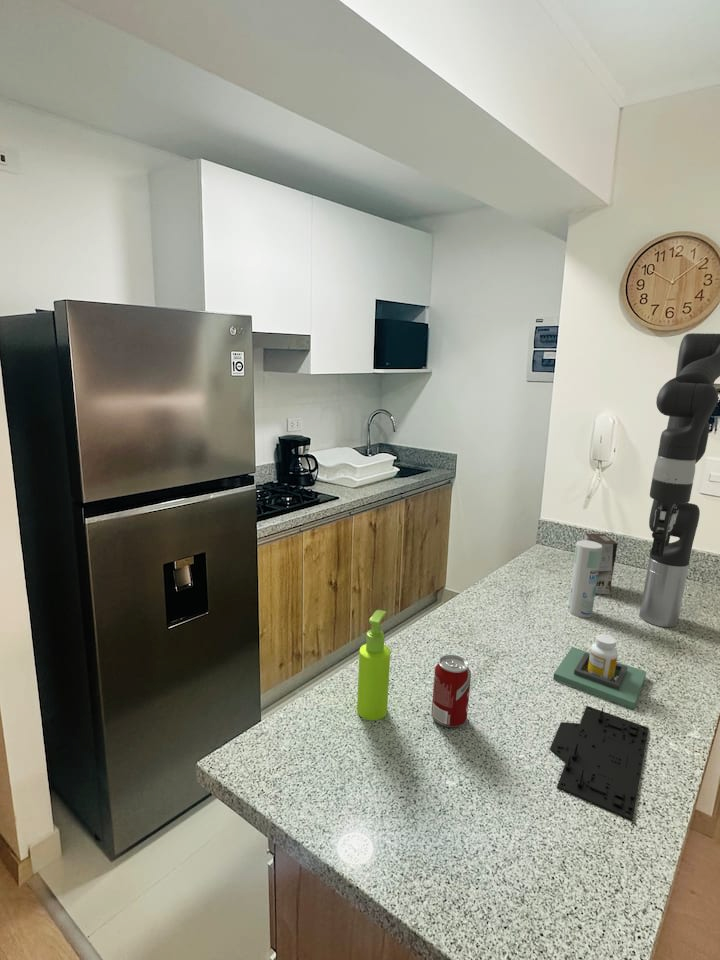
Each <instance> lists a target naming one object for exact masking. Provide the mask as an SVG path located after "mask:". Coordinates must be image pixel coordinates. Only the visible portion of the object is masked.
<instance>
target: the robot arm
mask: <svg viewBox="0 0 720 960" xmlns="http://www.w3.org/2000/svg"><path fill="white" fill-rule="evenodd" d="M719 377H720V333H702V332H701V333H692V332H691V333H687V334H685V335H684V336H683V338H682V340H681V342H680V345H679V351H678V356H677V364H676V372H675V377H673V378H671V379H669V380H668V381H667V382H666V383H665V384H663V386H662V387H661V388H660V389H659V391H658V393H657V396H656V408H657V409H658V411H659V413H660V414H662V415H664V416H665V417H666V416H667V417H668V420H667V421H668V422H667V425H666V426H667V427H666V429H664V430H663V431H662V432H661V434H660V439H659V445H658V452H657V457H656V460H655V463H654V467H653V473H652V477H651V482H650V483H651V484H650V485H651V486H650V491H649V498H650V499H653V501H652V505H651V508H650V513H649V519H648V520H649V521H648V525H649V529H650V531H651V532H652V533H651V537H652V538H653V540H652V546H651V548H650V551H649V557H648V563H647V569H646V573H645V574H646V575H645V581H644V584H643V591H642V597H641V603H640V609H639V613H638V614H639V617H640V619H642V620H643V621H645V622H647V623H649V624H650V625H651V624H652V625H655V626H658V627H663V628H673V627H674V628H675V627H677V625H678V623H679V617H680V613H681V607H682V603H683V598H684V592H685V588H686V584H687V583H686V582H687V576H688V571H689V566H690V560H691V553H692V549H693V544H694V540H695V536H696V532H697V528H698V525H699V520H700V515H701V514H700V511H701V510H700V508H699V506H698V504H695V503H690V499H691V495H692V490H693V485H694V480H695V474H696V464H697V463H698V462H699V461H700V460H701V459H702V458H703V456H704V455H705V453H706V451H707V450H706V449H707V445H708V438H709V433H710V424H709V419H710V418H711V416H712V414H713V412H714V410H715V408H716V407H717V404H718V402H719V400H718V399H719V393H718V390H717V389H716V387H715V386H714V385H715V382H716V380H717V379H718V378H719ZM671 537H674V538H675V537H676V538H678V540H676V541H673V542H670V540H671Z"/></svg>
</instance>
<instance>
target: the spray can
mask: <svg viewBox="0 0 720 960" xmlns="http://www.w3.org/2000/svg"><path fill="white" fill-rule="evenodd" d="M601 554H602V545H601V544H599V543H597V542H594V541H588V540H584V539H581V540H578V541H576V542H575V551H574V557H573V558H574V559H573V565H572V576H571V582H570V591H569V595H568V596H569V598H568V605H567V611H568V612H569V614H571V615H572V616H575V617H579V618H582V619H583V618H584V619H585V618H586V619H587V618H590V617H591V616H592V614H593V609H594V603H595V599H596V598H595V596H596V594H595V591H596V585H597V579H598V573H599V566H600V560H601Z"/></svg>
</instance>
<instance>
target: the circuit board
mask: <svg viewBox="0 0 720 960" xmlns="http://www.w3.org/2000/svg"><path fill="white" fill-rule="evenodd" d="M583 711H584V712H583V714H582V717H581V720H580V721H579V722H578V723H577V722H564V721H562V722H560V723H559V726H558V728H557V731H556V733H555V736H554V738H553V740H552V742H551V744H550V747H549V751H551V752H552V753H553V754H554V755H555V756H556V757H558V758H559V760H561V761H562V762H563V763H564V766H563V769H562V772H561V774H560V777H559V780H558V783H557V785H556V789H558V790H560V791H562V790H563V792H564V793H566V794H569V793H570V794H569V795H572V796H573V797H576V798H578V799H581V800H583V801H585V802H587V803H589V804H592V805H594V806H597V807H599V808H601V809H602V810H606V811H608V812H609V813H613V814H614V815H616V816H619V817H622V818H624V819H626V820H628V821H631V822H634V816H635V809H636V803H637V798H638V793H639V785H640V780H641V774H642V769H643V762H644V757H645V751H646V745H647V740H648V733H649V727H648V726H644V725H642V724H639V723H636V722H634V721H631V720H628V719H626V718H622V717H620V716H617V715H614V714H612V713H609V712H605V711H604V707H602V708H601V710H600V709H597V708H595V707H592V706H588V705H586V706H585V708H584V710H583Z"/></svg>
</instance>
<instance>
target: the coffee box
mask: <svg viewBox="0 0 720 960" xmlns="http://www.w3.org/2000/svg"><path fill="white" fill-rule="evenodd" d="M583 540H588V541H594V542H597V543H599V544H601V545H602V554H601V560H600V566H599V573H598V579H597V585H596V591H595V595H596V594H598V595H610V593H611V588H612V581H613V575H614V569H615V562H616V556H617V550H618V542H616V541H615V540H613V539H612V538H611V537H609V536H608V535H606V534H605V533H584V539H583Z"/></svg>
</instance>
